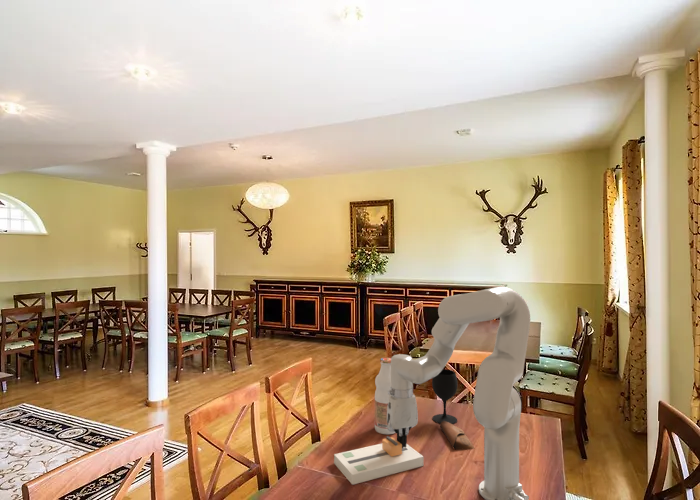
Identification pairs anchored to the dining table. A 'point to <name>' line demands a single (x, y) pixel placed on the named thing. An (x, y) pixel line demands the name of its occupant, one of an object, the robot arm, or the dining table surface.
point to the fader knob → (391, 446)
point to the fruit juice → (382, 396)
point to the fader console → (375, 462)
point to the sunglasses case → (456, 436)
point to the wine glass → (445, 393)
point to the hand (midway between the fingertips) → (401, 445)
